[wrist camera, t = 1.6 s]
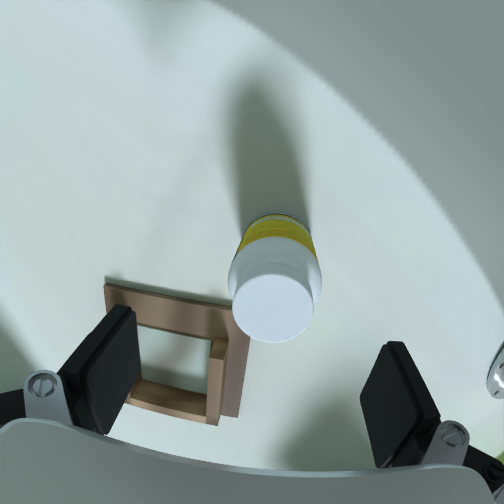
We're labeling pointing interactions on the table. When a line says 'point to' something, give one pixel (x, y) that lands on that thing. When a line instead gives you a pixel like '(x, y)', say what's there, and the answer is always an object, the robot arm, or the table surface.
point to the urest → (185, 355)
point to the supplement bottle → (274, 278)
